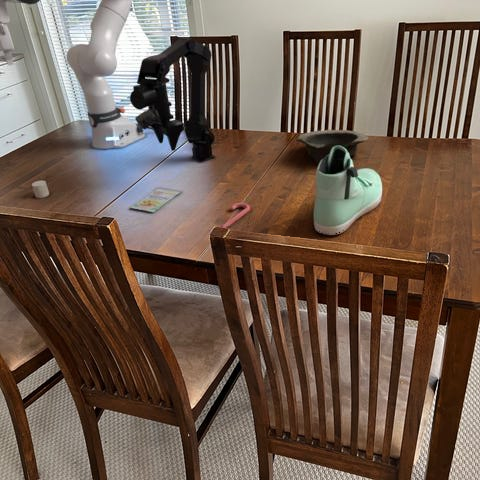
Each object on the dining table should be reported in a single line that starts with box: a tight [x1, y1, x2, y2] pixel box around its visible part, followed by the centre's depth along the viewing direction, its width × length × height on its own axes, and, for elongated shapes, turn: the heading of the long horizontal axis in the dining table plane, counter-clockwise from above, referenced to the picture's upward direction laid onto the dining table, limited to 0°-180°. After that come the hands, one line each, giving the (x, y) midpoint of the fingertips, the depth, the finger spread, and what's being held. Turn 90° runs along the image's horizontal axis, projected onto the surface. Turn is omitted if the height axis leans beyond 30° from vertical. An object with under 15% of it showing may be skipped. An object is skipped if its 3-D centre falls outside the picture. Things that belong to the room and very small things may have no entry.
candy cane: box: [220, 202, 251, 229], centre depth 139 cm, size 6×15×2 cm, turn 145°
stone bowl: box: [296, 129, 369, 165], centre depth 171 cm, size 25×25×9 cm
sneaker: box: [313, 146, 383, 236], centre depth 133 cm, size 14×35×20 cm, turn 152°
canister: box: [31, 180, 50, 199], centre depth 161 cm, size 4×4×4 cm
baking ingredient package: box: [130, 188, 181, 213], centre depth 152 cm, size 9×1×15 cm
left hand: (7, 62), depth 159 cm, fingers open, 8 cm apart
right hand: (167, 146), depth 160 cm, fingers open, 9 cm apart
